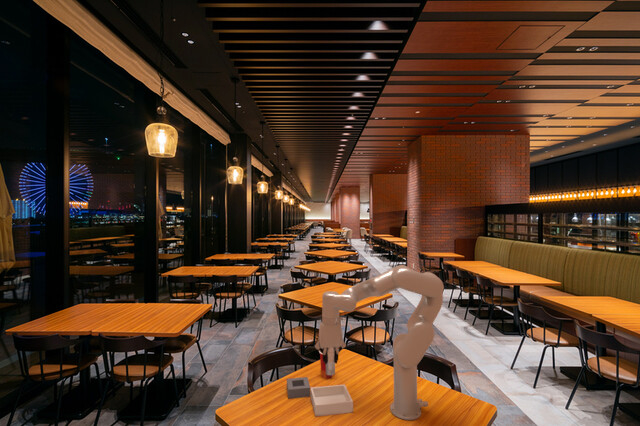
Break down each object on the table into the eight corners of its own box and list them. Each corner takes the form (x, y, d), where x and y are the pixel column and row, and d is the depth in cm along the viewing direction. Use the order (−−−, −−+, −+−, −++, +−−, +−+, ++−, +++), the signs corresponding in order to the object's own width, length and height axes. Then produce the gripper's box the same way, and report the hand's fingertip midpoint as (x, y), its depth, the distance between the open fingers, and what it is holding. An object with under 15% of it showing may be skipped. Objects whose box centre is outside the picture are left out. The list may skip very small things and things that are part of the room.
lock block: (307, 385, 153) (307, 377, 153) (310, 396, 143) (310, 387, 143) (286, 387, 151) (286, 378, 151) (288, 398, 141) (288, 389, 141)
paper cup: (334, 373, 165) (334, 346, 166) (333, 380, 157) (333, 352, 158) (319, 372, 166) (319, 345, 166) (318, 379, 158) (318, 351, 159)
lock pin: (333, 370, 139) (334, 343, 140) (335, 375, 135) (336, 346, 136) (325, 371, 139) (325, 343, 139) (326, 375, 135) (327, 347, 135)
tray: (344, 394, 145) (344, 384, 145) (353, 412, 131) (353, 401, 131) (310, 397, 142) (310, 387, 142) (315, 416, 128) (315, 405, 128)
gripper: (346, 317, 143) (346, 357, 142) (310, 318, 140) (310, 360, 139) (351, 322, 135) (351, 365, 135) (313, 324, 132) (312, 367, 132)
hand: (330, 362), depth 137 cm, fingers closed on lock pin, 4 cm apart
